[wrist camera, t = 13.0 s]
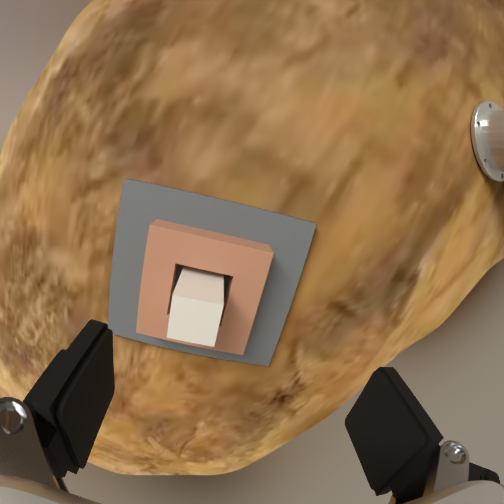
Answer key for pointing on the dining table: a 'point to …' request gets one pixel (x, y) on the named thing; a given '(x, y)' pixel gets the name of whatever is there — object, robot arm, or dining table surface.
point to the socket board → (214, 219)
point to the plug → (196, 306)
